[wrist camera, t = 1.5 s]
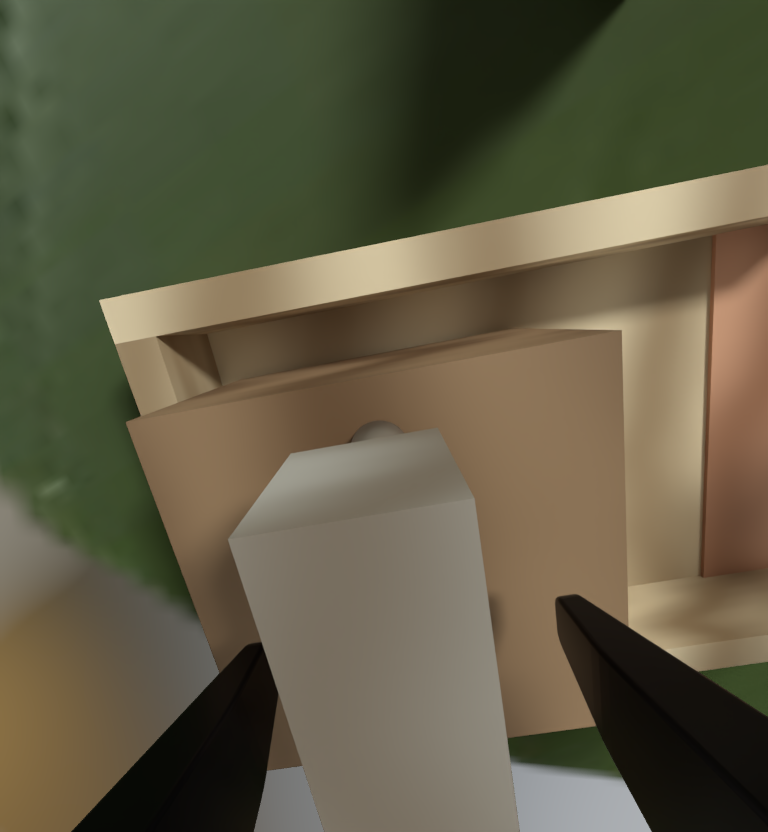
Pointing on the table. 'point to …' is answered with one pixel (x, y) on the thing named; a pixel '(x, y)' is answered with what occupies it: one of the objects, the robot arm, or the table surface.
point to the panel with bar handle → (405, 557)
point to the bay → (549, 309)
